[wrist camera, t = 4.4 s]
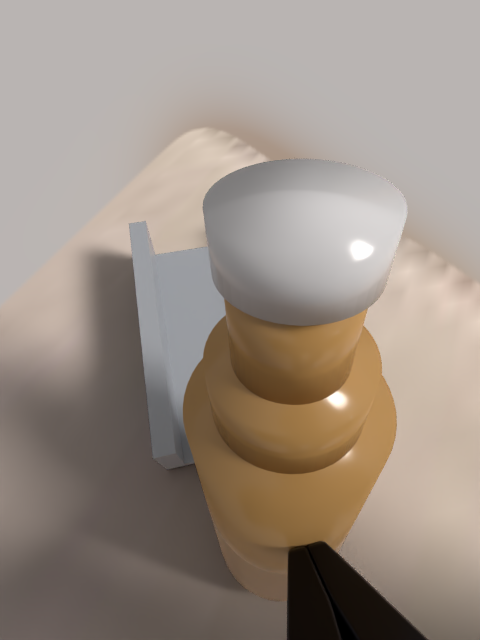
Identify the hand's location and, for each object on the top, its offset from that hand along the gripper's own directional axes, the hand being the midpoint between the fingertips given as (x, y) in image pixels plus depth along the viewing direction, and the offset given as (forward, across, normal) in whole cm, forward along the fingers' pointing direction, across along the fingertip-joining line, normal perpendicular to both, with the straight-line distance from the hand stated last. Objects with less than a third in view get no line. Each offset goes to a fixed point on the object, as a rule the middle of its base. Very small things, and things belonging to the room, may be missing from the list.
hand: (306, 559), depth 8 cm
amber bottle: (+5, 0, +4) cm, 7 cm away
